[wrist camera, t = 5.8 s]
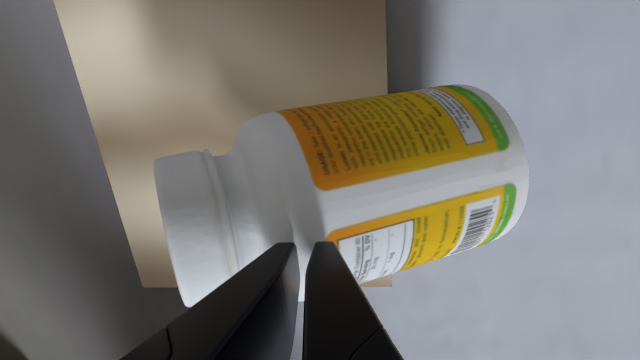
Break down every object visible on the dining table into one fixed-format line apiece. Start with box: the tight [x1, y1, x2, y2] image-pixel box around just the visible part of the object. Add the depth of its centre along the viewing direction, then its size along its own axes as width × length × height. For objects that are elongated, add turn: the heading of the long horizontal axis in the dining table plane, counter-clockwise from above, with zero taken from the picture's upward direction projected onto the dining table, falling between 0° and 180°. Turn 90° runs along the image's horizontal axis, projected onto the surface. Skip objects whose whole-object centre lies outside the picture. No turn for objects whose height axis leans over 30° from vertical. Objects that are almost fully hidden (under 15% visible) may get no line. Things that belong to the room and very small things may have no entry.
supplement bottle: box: [154, 85, 529, 307], centre depth 12 cm, size 5×5×10 cm
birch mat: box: [53, 0, 392, 288], centre depth 17 cm, size 13×12×1 cm
